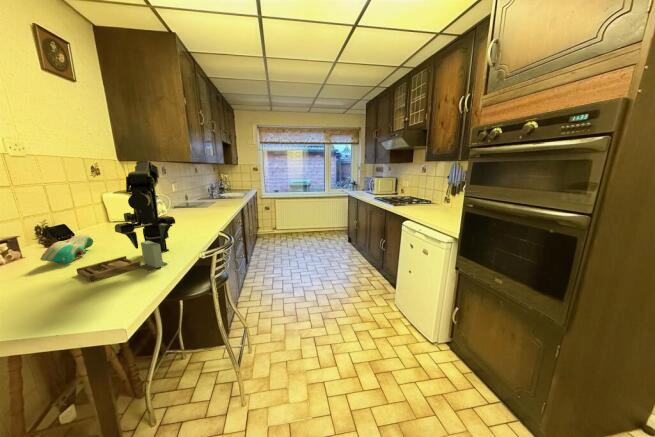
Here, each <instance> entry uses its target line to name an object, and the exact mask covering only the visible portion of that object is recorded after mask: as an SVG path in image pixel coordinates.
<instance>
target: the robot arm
mask: <svg viewBox="0 0 655 437" xmlns="http://www.w3.org/2000/svg"><path fill="white" fill-rule="evenodd" d="M159 178H160V171H159V168H158V166H156V165H154V164H153V163H152V162H151V160H138V161H136V164H135V166H134V171H130V172H129V173H128V174H127V176H125V192H126V193H131V194H130V196H129V197H128V201H127V203H128V205H129V207H130V208H131V209H133V213H131V212H125V213H123V219H124V221H125V222H122V223H116V224H115V226H114V227H113V228H114V232H115V233H118V234H121V235H125V236H126V237H127V238H128V239H129V241H130V242H131V244H132V245H133V247H134V248H135V249H139V242H138V235H137V232H136V231H135V229H140V228H142V235H143V239H144V241H151V242H154V243H158V244H160V247H161V253H165V252H168V251H170V249H168V246H167V239H169V231H170V228H171V227H173V225H174V224H175V225H176V219H175V217H173V216H170V215H164V216H159V210H158V200H157V194H156V187H157V185H158V184H159Z"/></svg>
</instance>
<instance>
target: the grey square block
mask: <svg viewBox="0 0 655 437" xmlns="http://www.w3.org/2000/svg"><path fill="white" fill-rule="evenodd" d="M140 246H141V251H142V252H141V253H142V259H143V265H144V264H147V265H150V266H152V267H155V268H156V269H158V267H159V268H162V267H164V266H163V262H164V261H163V256H162V252H161V247H160V244H158V243H154V242H151V241H145V240H144V241H141V242H140ZM161 266H162V267H161Z"/></svg>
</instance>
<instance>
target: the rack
mask: <svg viewBox="0 0 655 437" xmlns="http://www.w3.org/2000/svg"><path fill="white" fill-rule="evenodd" d="M117 261H123V262H127V263H129V264H126V265H123V266H119V267H116V268H110V267H108V264H110V263H114V262H117ZM140 266H141V262H140V260H137V261H133V260H131V259H128V258H127V256H126V255H125V256H121V257H120V256H119V257H116V258H113V259H109V260H106V261H101V262H97V263H94V264H89V265H85V266H81V267H78V268H76V273H77V276H79V277H82V279H84V280H87V281H88V282H90V283H93V282H97V281H100V280H103V279H106V278H109V277H112V276H113V277H114V276H116V275H120V274H122V273H123V274H124V273H126V272H130V271H133V270H136V269H139V268H140ZM99 270H101V271H99Z"/></svg>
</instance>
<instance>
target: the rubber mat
mask: <svg viewBox="0 0 655 437" xmlns="http://www.w3.org/2000/svg"><path fill="white" fill-rule="evenodd" d="M167 265H168V262H165V261H163V266H161V267H158V268H162V267H165V266H167ZM139 268H141V269H143V270H146V271H152V270H155V269H158V268H155V267H152V266H150V265H147V264H144V263H143V264H140V267H139Z"/></svg>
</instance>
